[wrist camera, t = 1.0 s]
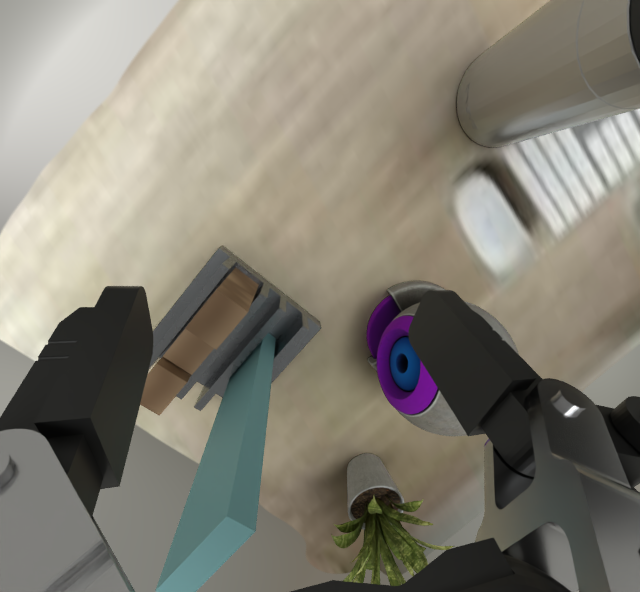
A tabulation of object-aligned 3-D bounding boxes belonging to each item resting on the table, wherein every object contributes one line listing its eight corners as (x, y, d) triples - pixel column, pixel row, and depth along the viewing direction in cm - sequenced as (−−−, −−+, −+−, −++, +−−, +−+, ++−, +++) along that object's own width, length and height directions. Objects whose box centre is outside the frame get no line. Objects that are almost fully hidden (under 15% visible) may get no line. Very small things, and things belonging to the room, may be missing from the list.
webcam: (377, 271, 37) (434, 314, 22) (476, 291, 38) (587, 342, 24) (350, 369, 40) (385, 462, 26) (443, 384, 42) (523, 477, 27)
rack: (319, 321, 38) (325, 342, 32) (247, 402, 40) (240, 435, 34) (222, 245, 34) (209, 253, 28) (149, 338, 36) (123, 363, 31)
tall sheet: (275, 338, 36) (255, 531, 14) (245, 373, 36) (184, 603, 15) (264, 330, 35) (226, 516, 14) (234, 365, 36) (155, 591, 15)
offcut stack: (258, 284, 34) (248, 312, 25) (187, 370, 36) (154, 423, 27) (235, 267, 33) (216, 289, 24) (164, 355, 35) (123, 404, 26)
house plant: (309, 516, 46) (319, 676, 30) (302, 437, 42) (309, 575, 26) (404, 503, 47) (462, 652, 31) (406, 425, 43) (472, 551, 27)
